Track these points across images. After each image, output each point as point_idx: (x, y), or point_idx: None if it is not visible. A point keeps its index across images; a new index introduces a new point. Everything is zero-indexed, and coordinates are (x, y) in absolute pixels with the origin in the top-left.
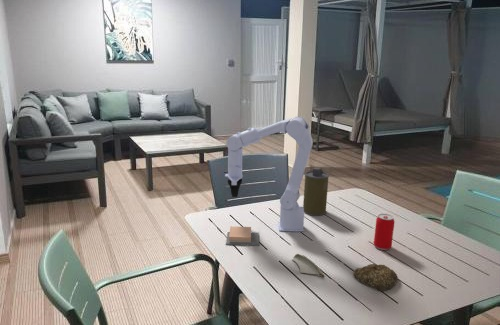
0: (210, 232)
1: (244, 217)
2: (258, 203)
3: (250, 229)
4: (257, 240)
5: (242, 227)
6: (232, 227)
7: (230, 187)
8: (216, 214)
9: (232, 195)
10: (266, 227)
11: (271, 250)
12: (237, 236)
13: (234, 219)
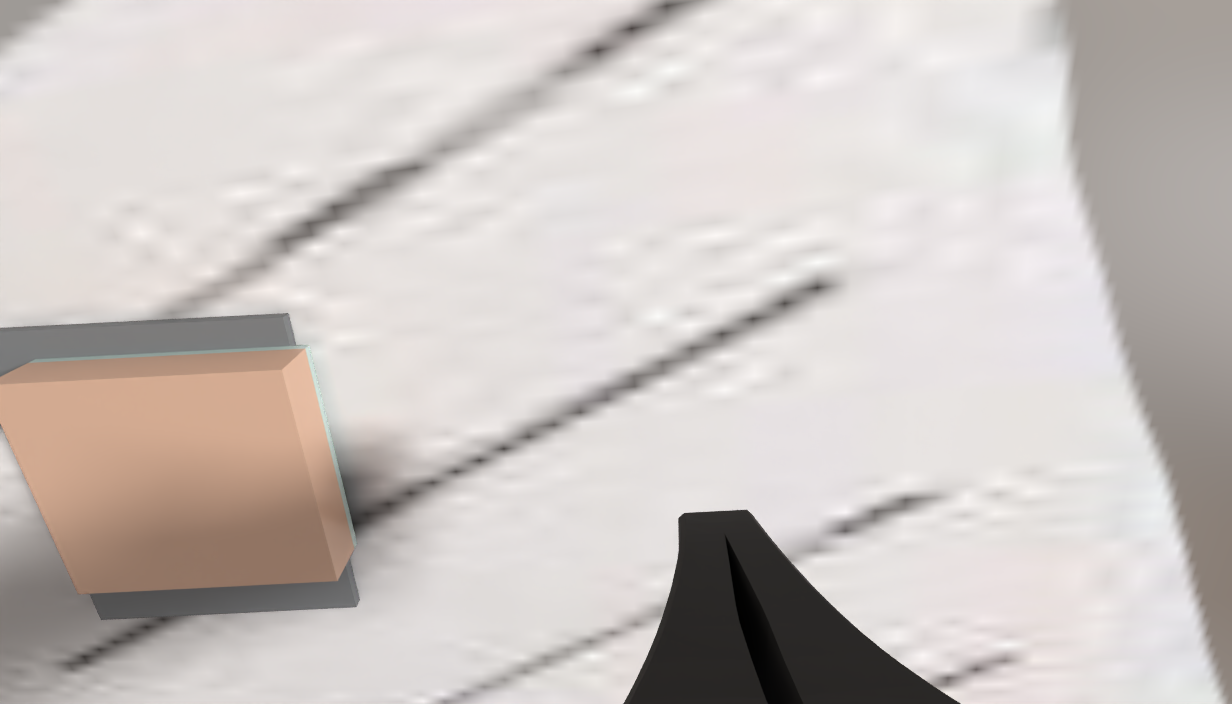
0: (234, 95)
1: (752, 450)
2: (1170, 562)
3: (269, 579)
4: (179, 604)
5: (296, 501)
6: (259, 396)
7: (633, 685)
8: (849, 88)
9: (679, 539)
10: (516, 651)
11: (63, 695)
12: (37, 471)
13: (686, 348)
